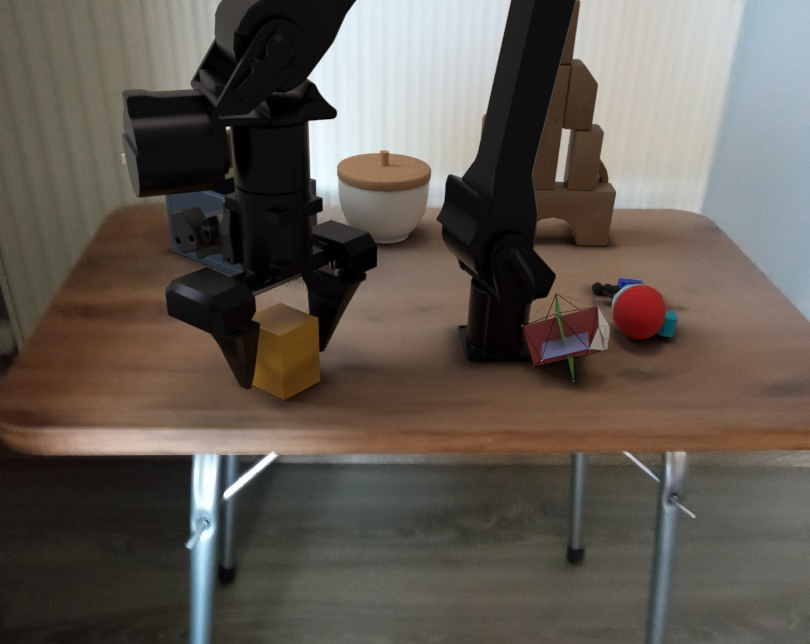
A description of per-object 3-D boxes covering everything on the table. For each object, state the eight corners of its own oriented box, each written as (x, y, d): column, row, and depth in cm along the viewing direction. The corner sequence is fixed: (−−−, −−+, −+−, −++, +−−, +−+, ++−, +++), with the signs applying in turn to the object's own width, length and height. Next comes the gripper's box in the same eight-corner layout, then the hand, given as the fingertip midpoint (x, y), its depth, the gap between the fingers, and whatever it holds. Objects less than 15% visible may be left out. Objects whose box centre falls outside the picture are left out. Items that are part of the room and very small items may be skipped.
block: (320, 381, 78) (318, 317, 75) (284, 400, 76) (280, 335, 72) (283, 364, 81) (280, 302, 77) (247, 383, 78) (241, 318, 74)
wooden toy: (596, 226, 111) (635, -8, 95) (607, 246, 106) (651, 2, 90) (472, 223, 110) (491, -13, 94) (477, 243, 105) (498, -3, 89)
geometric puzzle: (502, 360, 78) (568, 295, 74) (506, 325, 83) (568, 263, 79) (561, 409, 80) (629, 350, 76) (561, 372, 86) (624, 315, 81)
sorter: (318, 252, 101) (316, 179, 96) (247, 281, 95) (241, 204, 90) (244, 225, 107) (238, 155, 102) (172, 251, 100) (162, 177, 95)
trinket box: (427, 253, 102) (432, 168, 96) (334, 249, 102) (332, 163, 96) (427, 220, 111) (432, 140, 105) (341, 216, 110) (340, 136, 105)
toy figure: (582, 303, 97) (602, 344, 84) (593, 256, 94) (615, 291, 81) (651, 312, 97) (682, 355, 84) (663, 266, 94) (697, 302, 81)
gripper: (283, 137, 77) (291, 307, 87) (103, 187, 65) (136, 377, 75) (383, 165, 72) (379, 342, 82) (206, 225, 60) (227, 424, 70)
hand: (283, 368), depth 77 cm, fingers open, 9 cm apart
